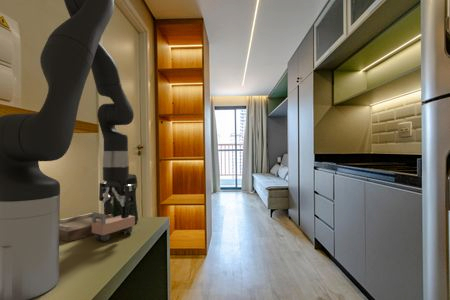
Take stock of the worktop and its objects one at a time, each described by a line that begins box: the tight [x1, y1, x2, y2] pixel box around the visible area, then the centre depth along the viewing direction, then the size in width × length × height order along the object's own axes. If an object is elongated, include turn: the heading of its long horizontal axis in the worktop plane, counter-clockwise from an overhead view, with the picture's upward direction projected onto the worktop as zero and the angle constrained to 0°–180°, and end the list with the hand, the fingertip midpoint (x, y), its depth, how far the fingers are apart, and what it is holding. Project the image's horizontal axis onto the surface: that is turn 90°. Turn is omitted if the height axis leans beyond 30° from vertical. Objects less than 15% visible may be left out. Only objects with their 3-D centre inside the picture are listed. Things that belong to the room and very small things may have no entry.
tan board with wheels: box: [91, 212, 136, 243], centre depth 71 cm, size 11×6×8 cm, turn 151°
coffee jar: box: [110, 173, 139, 224], centre depth 86 cm, size 10×8×19 cm
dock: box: [59, 211, 113, 243], centre depth 77 cm, size 15×12×4 cm
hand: (116, 216), depth 72 cm, fingers open, 8 cm apart
